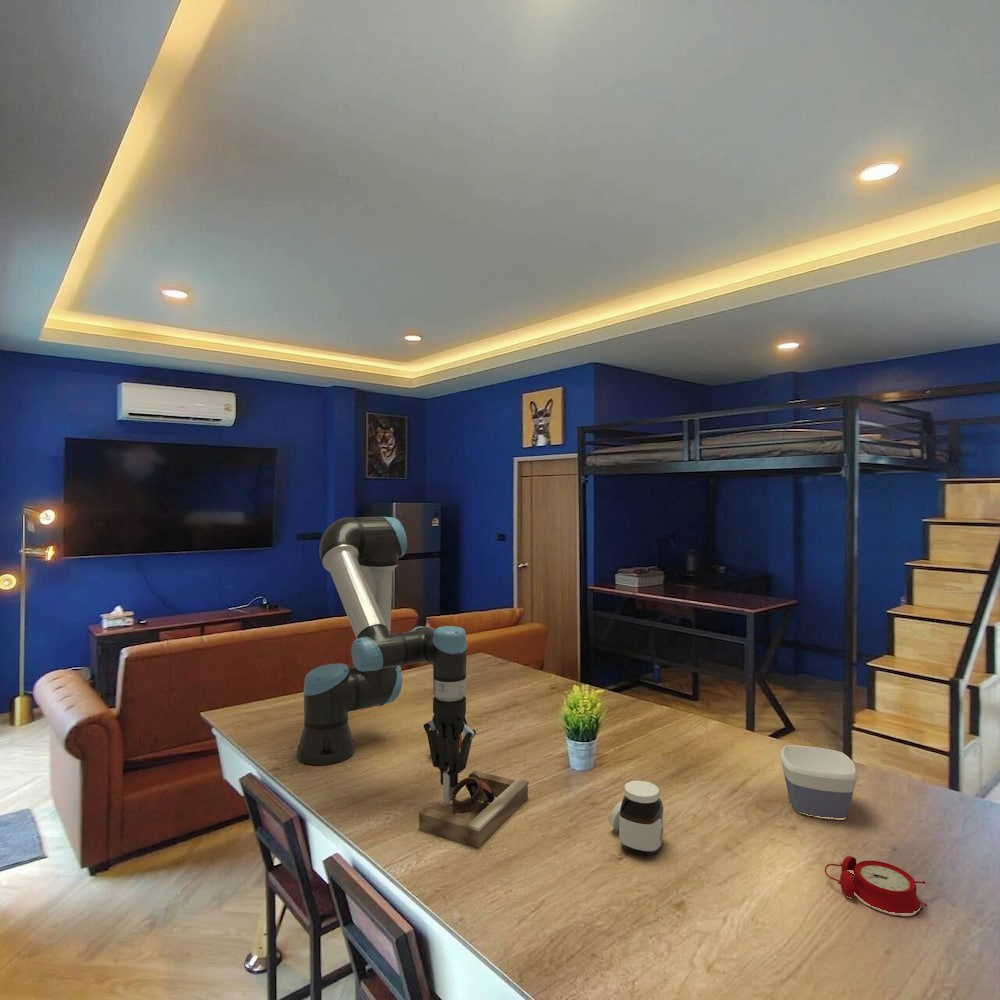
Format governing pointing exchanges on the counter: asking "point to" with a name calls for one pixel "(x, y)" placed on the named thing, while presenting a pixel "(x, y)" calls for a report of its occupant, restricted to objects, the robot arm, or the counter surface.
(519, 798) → the walnut pocket
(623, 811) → the spread jar
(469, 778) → the brown broken pot
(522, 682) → the counter surface
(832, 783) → the bowl
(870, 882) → the alarm clock
